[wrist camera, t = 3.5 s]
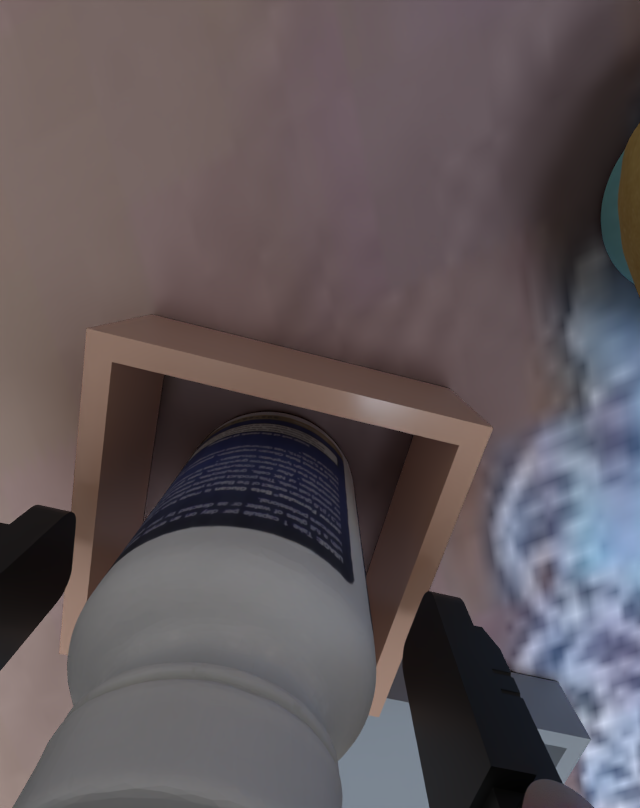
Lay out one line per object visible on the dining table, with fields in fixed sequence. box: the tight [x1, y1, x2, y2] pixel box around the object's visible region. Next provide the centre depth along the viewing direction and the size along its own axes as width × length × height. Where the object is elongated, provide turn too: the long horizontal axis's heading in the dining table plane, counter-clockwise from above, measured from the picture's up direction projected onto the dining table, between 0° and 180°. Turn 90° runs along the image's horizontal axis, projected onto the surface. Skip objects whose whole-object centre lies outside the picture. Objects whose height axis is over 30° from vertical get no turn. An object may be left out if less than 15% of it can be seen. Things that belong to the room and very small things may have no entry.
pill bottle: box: [13, 412, 376, 808], centre depth 9 cm, size 5×5×10 cm
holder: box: [59, 314, 493, 717], centre depth 12 cm, size 9×9×4 cm
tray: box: [338, 660, 591, 808], centre depth 17 cm, size 13×13×2 cm
